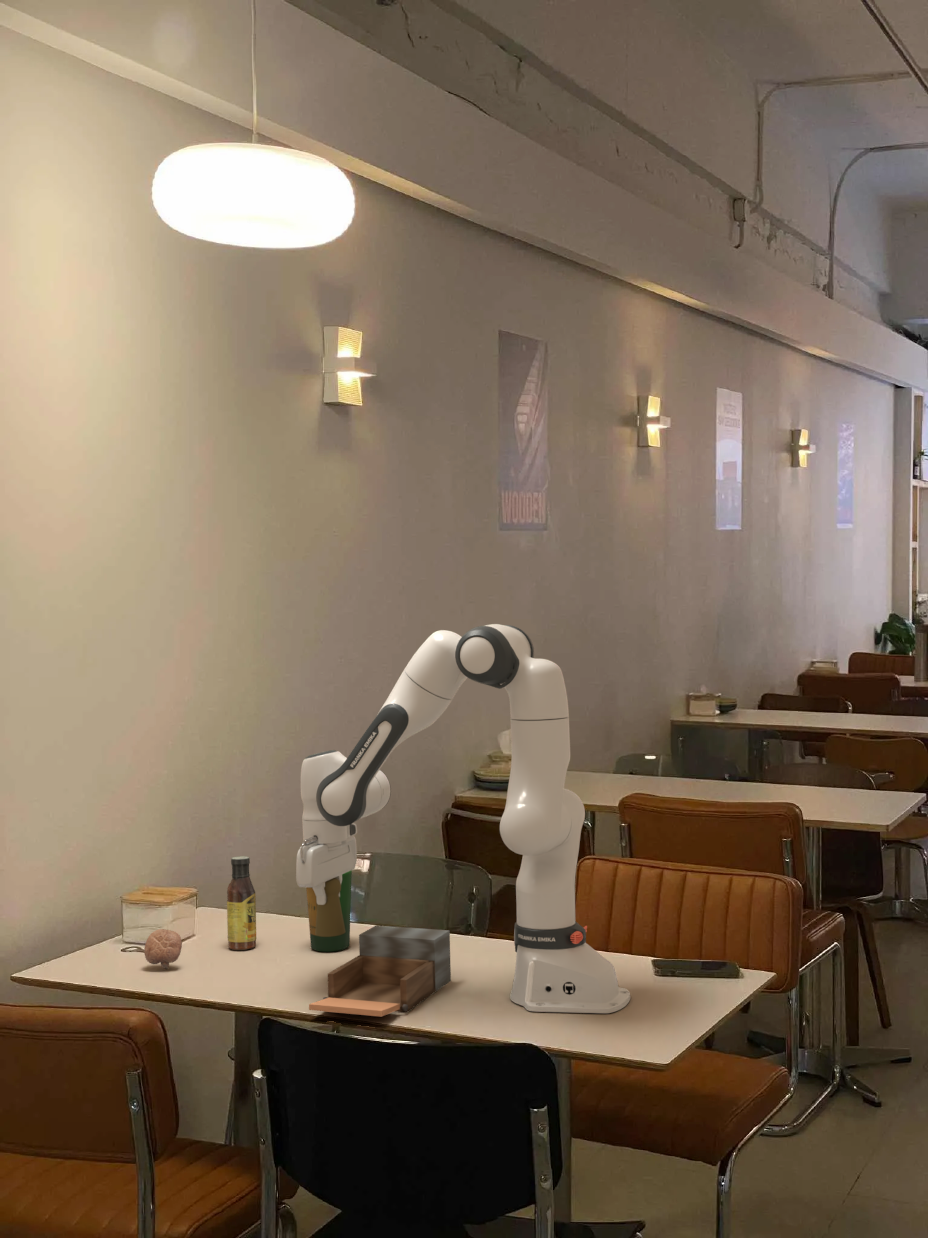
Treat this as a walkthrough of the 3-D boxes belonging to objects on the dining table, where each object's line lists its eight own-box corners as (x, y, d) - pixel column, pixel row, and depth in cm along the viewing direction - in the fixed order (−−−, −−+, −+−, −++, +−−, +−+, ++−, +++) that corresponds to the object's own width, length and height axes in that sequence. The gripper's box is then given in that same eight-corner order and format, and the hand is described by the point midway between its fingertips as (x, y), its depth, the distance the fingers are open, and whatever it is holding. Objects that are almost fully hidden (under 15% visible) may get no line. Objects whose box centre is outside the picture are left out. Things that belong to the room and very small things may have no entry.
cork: (340, 936, 274) (337, 881, 274) (311, 936, 275) (308, 881, 275) (349, 929, 280) (346, 875, 280) (320, 929, 281) (317, 875, 281)
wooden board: (399, 1003, 254) (381, 1011, 246) (399, 1011, 253) (381, 1018, 246) (328, 997, 259) (309, 1004, 251) (328, 1004, 259) (308, 1011, 251)
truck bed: (452, 981, 275) (451, 930, 275) (405, 1015, 253) (404, 960, 253) (375, 974, 281) (374, 925, 281) (322, 1007, 259) (321, 954, 259)
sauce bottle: (254, 951, 302) (251, 860, 302) (225, 952, 302) (223, 860, 302) (259, 944, 309) (256, 854, 308) (230, 944, 309) (228, 855, 309)
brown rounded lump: (188, 967, 290) (187, 929, 290) (166, 974, 285) (165, 936, 285) (162, 963, 294) (161, 925, 294) (140, 970, 289) (139, 931, 289)
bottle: (312, 941, 309) (309, 816, 309) (359, 942, 308) (356, 816, 308) (300, 954, 299) (296, 824, 298) (348, 954, 297) (345, 824, 297)
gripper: (315, 841, 267) (319, 913, 267) (360, 824, 286) (364, 891, 286) (286, 841, 269) (289, 912, 269) (333, 824, 288) (336, 890, 288)
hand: (328, 901), depth 278 cm, fingers closed on cork, 4 cm apart
